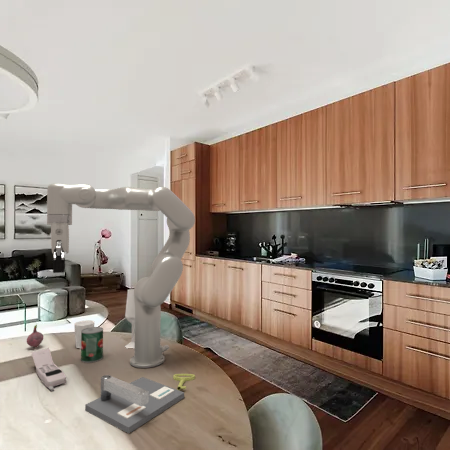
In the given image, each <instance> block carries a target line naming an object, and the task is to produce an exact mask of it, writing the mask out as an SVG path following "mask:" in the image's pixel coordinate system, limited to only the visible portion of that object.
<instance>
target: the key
mask: <svg viewBox="0 0 450 450" xmlns="http://www.w3.org/2000/svg"><path fill="white" fill-rule="evenodd" d="M172 378H173V379H172V380H174V381H176V382H179V383H178V385H177V388H176V390H179V391H181V390H186V389H187V386H186V385H185V386H184V384H185V383H186V382H190V381H193V380H195V379H196V375H195V374H194V373H193V374H192V373H175V374H173V377H172Z"/></svg>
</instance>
